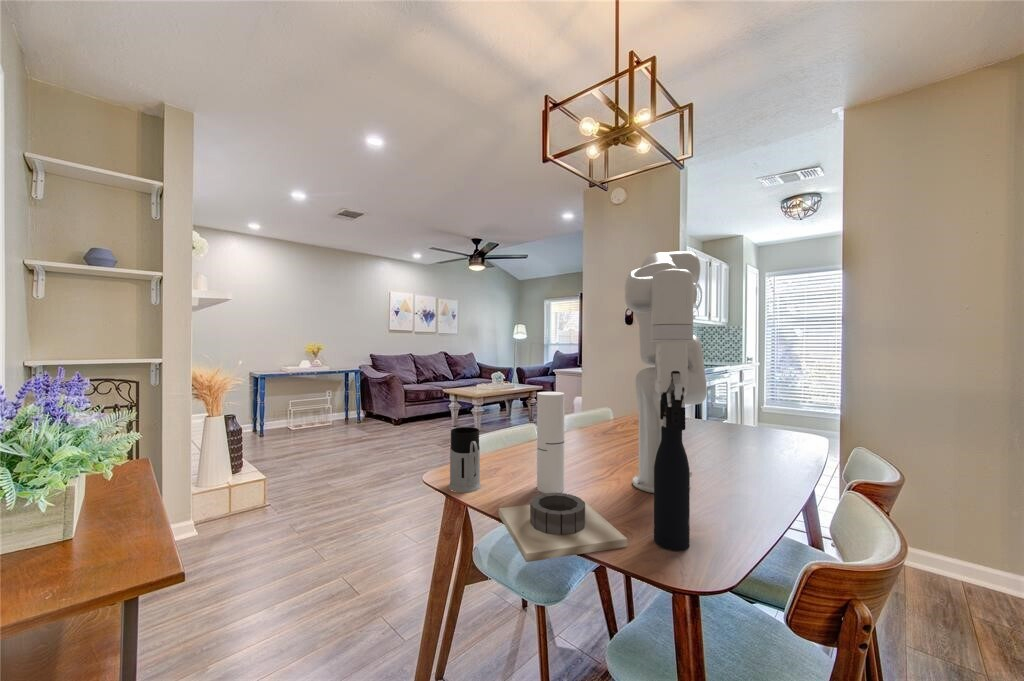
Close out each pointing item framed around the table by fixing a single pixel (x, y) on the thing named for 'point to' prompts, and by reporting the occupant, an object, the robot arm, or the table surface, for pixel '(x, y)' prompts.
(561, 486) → the cylindrical container
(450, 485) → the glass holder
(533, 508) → the bottle stand
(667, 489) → the wine bottle
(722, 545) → the table surface
